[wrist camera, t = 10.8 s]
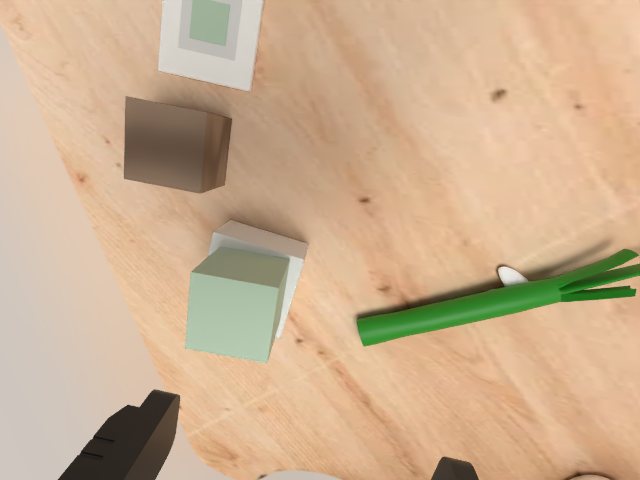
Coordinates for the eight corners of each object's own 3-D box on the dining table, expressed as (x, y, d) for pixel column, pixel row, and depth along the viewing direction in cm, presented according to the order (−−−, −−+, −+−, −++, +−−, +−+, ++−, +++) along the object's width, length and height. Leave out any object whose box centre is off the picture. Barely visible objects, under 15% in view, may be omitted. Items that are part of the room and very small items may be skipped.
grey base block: (231, 219, 32) (213, 231, 27) (308, 243, 33) (304, 259, 28) (214, 290, 34) (194, 313, 30) (287, 312, 35) (279, 338, 30)
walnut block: (166, 106, 30) (125, 96, 24) (231, 119, 30) (207, 112, 24) (162, 172, 31) (124, 178, 25) (225, 185, 31) (200, 193, 25)
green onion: (364, 337, 36) (673, 271, 31) (366, 356, 33) (710, 285, 28) (352, 298, 35) (671, 223, 30) (352, 314, 32) (709, 232, 27)
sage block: (220, 246, 28) (191, 272, 22) (290, 259, 28) (279, 287, 22) (214, 309, 29) (185, 348, 24) (279, 321, 29) (267, 363, 24)
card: (170, -50, 26) (165, -56, 25) (268, -27, 26) (266, -32, 26) (161, 71, 29) (156, 69, 28) (251, 92, 29) (248, 91, 28)
